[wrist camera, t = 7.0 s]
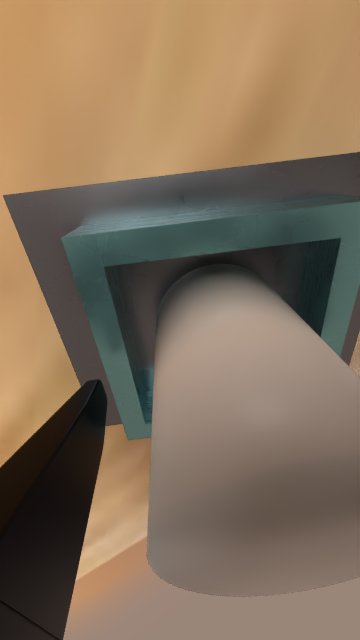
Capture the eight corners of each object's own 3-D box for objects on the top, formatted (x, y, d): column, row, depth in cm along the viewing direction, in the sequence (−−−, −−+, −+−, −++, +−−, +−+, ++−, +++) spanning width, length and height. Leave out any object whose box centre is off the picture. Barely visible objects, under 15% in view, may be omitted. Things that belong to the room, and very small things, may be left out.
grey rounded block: (282, 256, 10) (543, 428, 3) (269, 387, 14) (378, 602, 7) (146, 272, 10) (112, 481, 3) (168, 399, 14) (176, 627, 7)
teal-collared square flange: (355, 152, 11) (479, 137, 7) (312, 363, 17) (363, 427, 13) (39, 190, 11) (-39, 200, 7) (107, 388, 17) (89, 460, 13)
